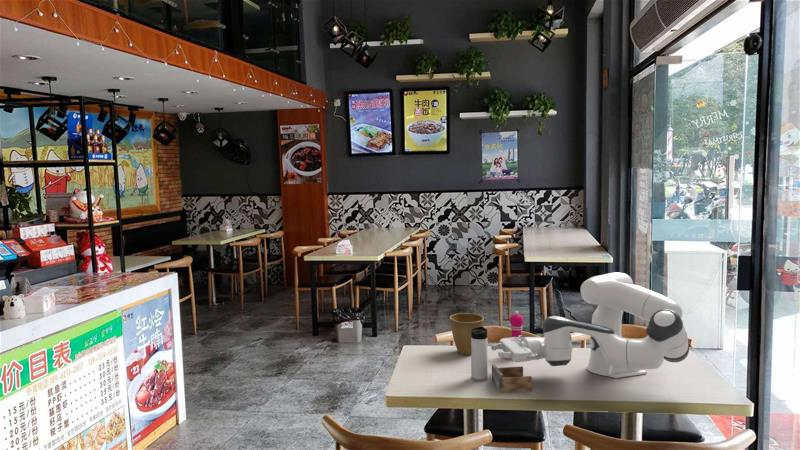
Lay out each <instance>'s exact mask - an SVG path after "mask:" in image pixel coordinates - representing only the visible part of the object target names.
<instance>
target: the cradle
mask: <svg viewBox="0 0 800 450" xmlns="http://www.w3.org/2000/svg"><path fill="white" fill-rule="evenodd" d="M532 377H533V376H531V375H526V376H524V367H523V366H509V367H508V366H507V367H506V366H505V367H497V365H496V364H495V363H493V364H491V382H492V384H493V385H494V387H495V388H496V390H497V391H498V392H499V394H503V393H520V392H522V393H523V392H532V391H533V388H532V387H533V385H532V384H533V383H532V382H533V381H532V379H533V378H532Z"/></svg>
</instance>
